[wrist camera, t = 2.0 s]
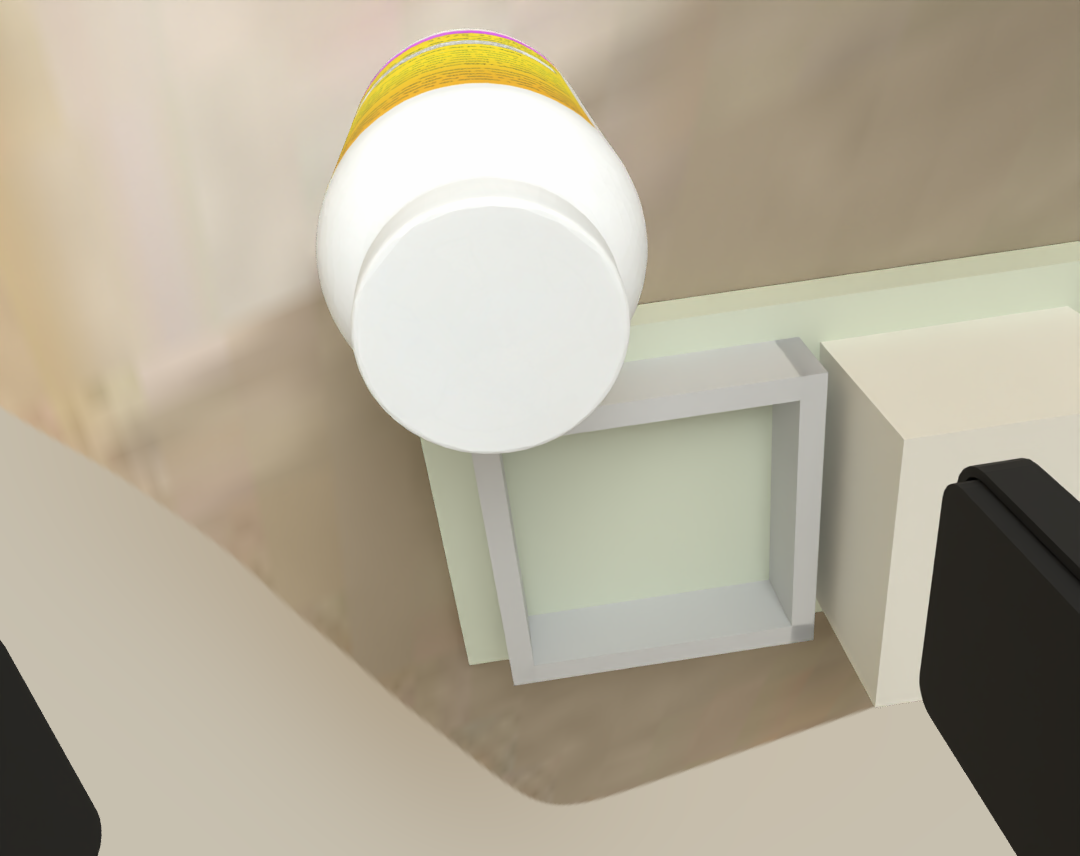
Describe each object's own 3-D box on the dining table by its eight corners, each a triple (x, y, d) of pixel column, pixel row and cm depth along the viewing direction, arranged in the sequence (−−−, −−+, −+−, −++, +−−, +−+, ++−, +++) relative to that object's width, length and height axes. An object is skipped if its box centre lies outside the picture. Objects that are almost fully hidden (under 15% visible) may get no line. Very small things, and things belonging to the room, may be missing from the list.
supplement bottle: (306, 102, 25) (196, 262, 14) (516, -24, 24) (579, 38, 13) (433, 299, 28) (426, 555, 17) (623, 195, 27) (747, 398, 16)
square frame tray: (1078, 241, 29) (1260, 337, 23) (1016, 554, 36) (1142, 697, 29) (404, 338, 29) (393, 465, 22) (468, 637, 35) (473, 801, 29)
